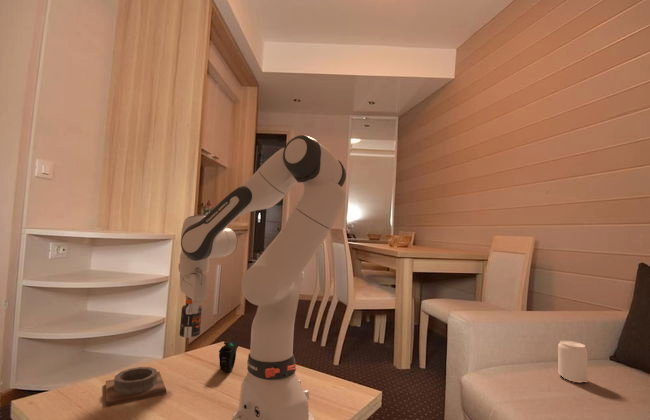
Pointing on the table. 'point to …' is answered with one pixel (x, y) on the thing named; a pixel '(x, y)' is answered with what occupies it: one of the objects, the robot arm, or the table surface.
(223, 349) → the controller
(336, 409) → the table surface
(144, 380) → the holder
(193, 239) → the robot arm
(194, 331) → the pill bottle
